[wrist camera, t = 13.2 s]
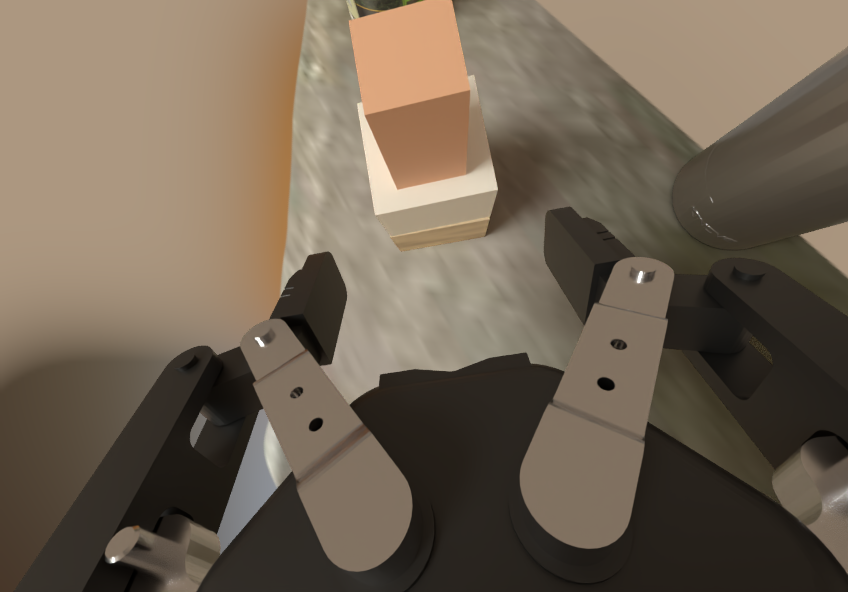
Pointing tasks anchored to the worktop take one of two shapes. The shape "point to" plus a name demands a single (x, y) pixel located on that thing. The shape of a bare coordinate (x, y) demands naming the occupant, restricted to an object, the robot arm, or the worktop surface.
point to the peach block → (414, 90)
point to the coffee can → (374, 6)
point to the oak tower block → (442, 234)
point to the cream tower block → (434, 183)
